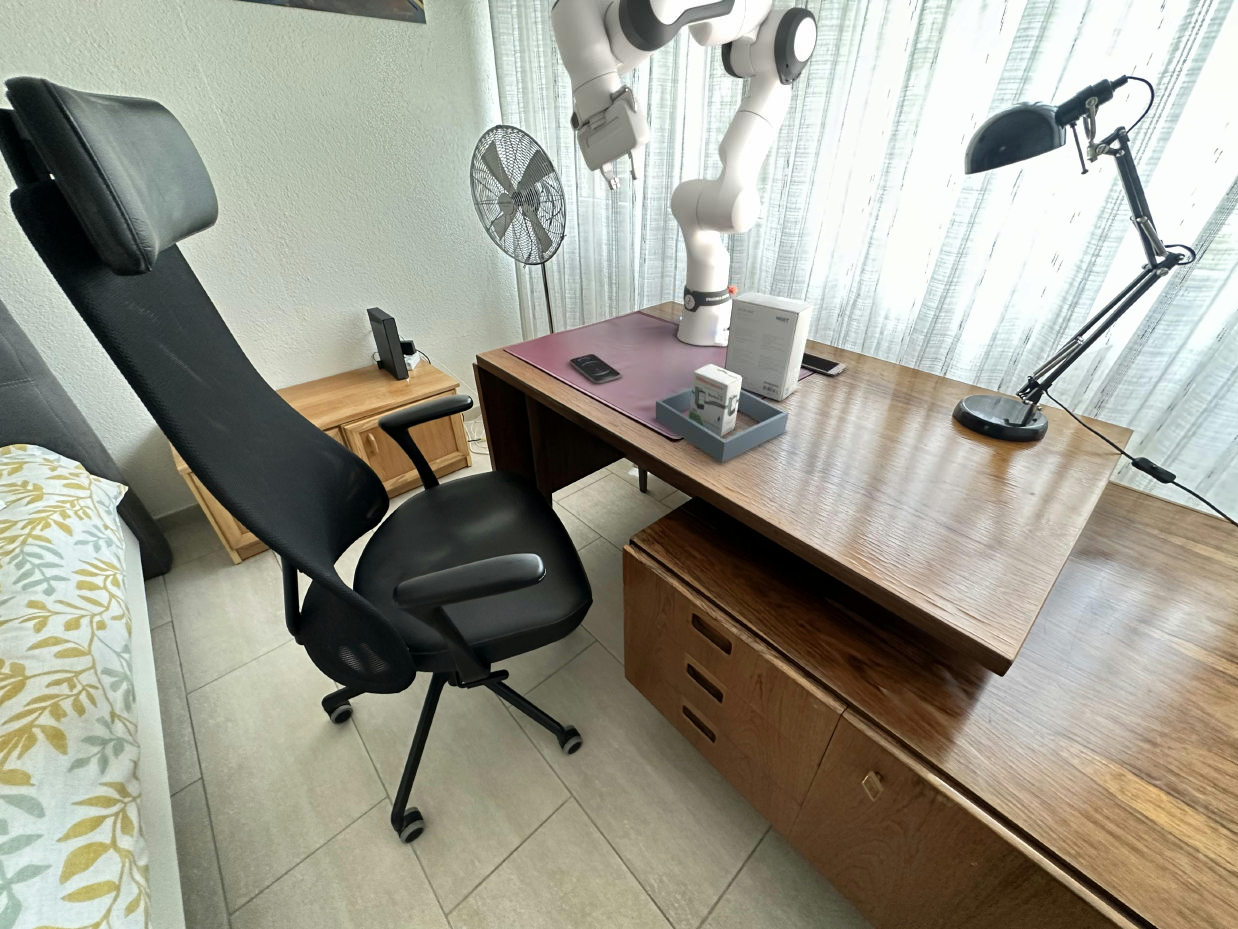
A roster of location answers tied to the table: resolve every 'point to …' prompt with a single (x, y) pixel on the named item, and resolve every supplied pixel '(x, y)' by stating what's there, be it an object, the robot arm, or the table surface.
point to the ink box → (715, 398)
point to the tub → (711, 442)
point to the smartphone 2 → (821, 364)
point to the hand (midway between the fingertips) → (626, 183)
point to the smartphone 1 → (595, 368)
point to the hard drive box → (767, 342)
